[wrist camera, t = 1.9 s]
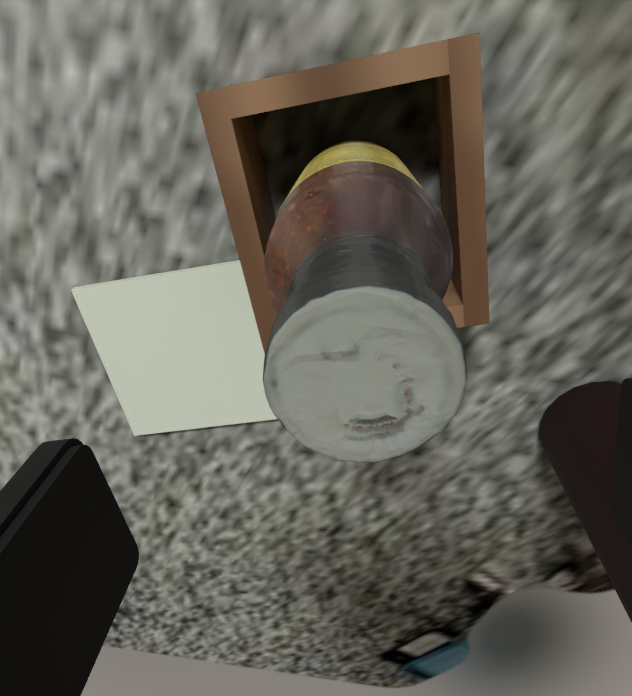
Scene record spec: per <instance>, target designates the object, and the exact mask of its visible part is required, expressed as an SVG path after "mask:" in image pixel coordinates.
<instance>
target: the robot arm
mask: <svg viewBox="0 0 632 696" xmlns="http://www.w3.org/2000/svg"><path fill="white" fill-rule="evenodd" d="M611 512H612V515H613V518H614V521H615V523H616V525H617V527H618V529H619V530H620V532H621V533H622V535H623V537H624V538H625V540H626V542H627V543H628V545H629V547H630V548H631V550H632V378H627V379H625V380H624V381H623V382H622V386H621V394H620V405H619V416H618V426H617V437H616V448H615V458H614V469H613V480H612V490H611ZM138 559H139V552H138V547H137V544H136V542H135V540H134V538H133V536H132V534H131V532H130V529H129V527H128V525H127V523H126V521H125V519H124V517H123V515H122V513H121V510H120V508H119V506H118V504H117V502H116V500H115V498H114V496H113V494H112V491H111V489H110V487H109V485H108V483H107V481H106V479H105V477H104V475H103V472H102V470H101V468H100V466H99V464H98V462H97V460H96V458H95V456H94V453H93V451H92V450H91V448H90V447H89V446H87V445H83V444H82V442H81V441H79V440H78V439H74V438H72V439H64V440H56V441H48V442H44V443H42V444H41V445H40V446H38V448H37V449H36V450H35V451H34V452H33V453H32V455H31V456H30V457H29V458H28V459H27V460H26V462H25V463H24V464H23V465H22V466H21V468H20V469H19V470H18V471H17V472H16V473H15V475H14V476H13V477H12V478H11V479H10V480H9V482H8V483H7V484H6V485H5V486H4V487H3V489H2V490H1V491H0V696H80V695H81V693H82V691H83V689H84V686H85V684H86V682H87V680H88V677H89V675H90V673H91V670H92V668H93V666H94V664H95V661H96V659H97V657H98V654H99V652H100V650H101V648H102V645H103V643H104V641H105V638H106V636H107V634H108V632H109V629H110V627H111V625H112V622H113V620H114V618H115V616H116V613H117V611H118V609H119V606H120V604H121V602H122V600H123V597H124V595H125V593H126V591H127V588H128V586H129V584H130V581H131V579H132V577H133V575H134V572H135V570H136V568H137V565H138Z"/></svg>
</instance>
